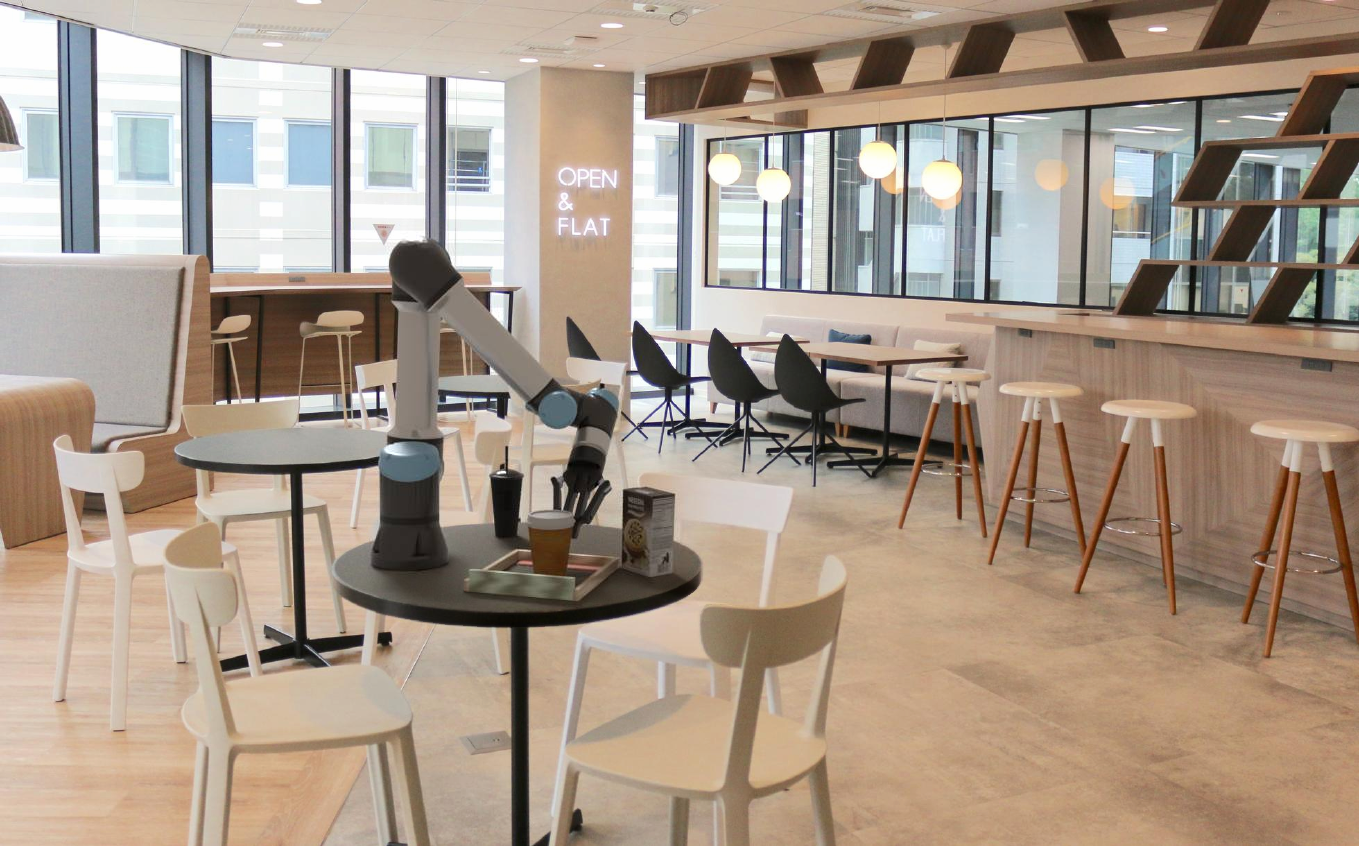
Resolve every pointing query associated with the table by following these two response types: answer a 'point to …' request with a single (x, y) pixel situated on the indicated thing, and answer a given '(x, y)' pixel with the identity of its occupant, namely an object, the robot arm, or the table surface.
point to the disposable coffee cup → (550, 540)
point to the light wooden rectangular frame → (538, 578)
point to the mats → (570, 566)
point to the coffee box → (648, 531)
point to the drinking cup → (506, 499)
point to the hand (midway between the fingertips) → (563, 551)
